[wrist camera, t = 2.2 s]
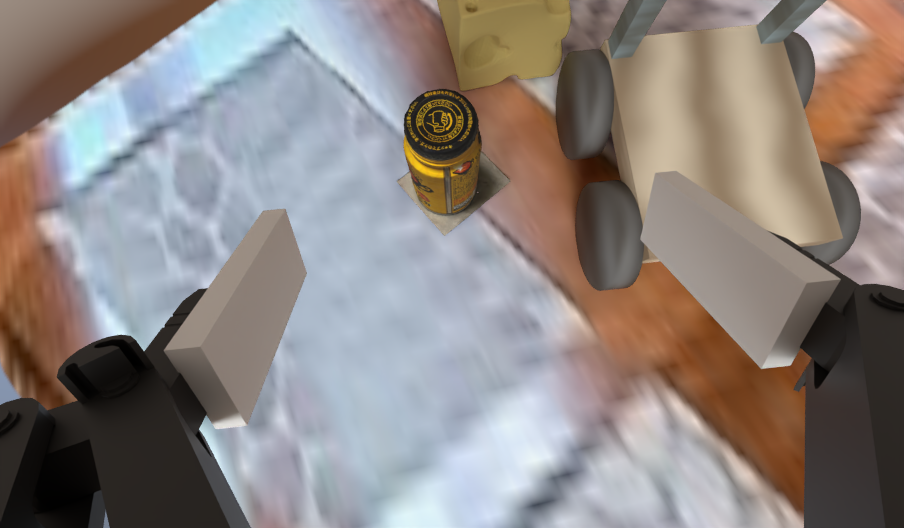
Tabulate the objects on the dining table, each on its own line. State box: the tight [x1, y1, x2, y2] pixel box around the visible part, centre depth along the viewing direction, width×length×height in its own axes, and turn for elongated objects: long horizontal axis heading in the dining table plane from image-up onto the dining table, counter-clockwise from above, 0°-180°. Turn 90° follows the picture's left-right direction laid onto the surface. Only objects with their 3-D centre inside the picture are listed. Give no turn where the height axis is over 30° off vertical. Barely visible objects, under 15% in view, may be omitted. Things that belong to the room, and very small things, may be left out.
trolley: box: [556, 0, 861, 291], centre depth 28 cm, size 18×21×23 cm
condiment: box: [397, 89, 510, 236], centre depth 34 cm, size 7×8×12 cm
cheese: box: [437, 0, 571, 91], centre depth 38 cm, size 10×11×10 cm
